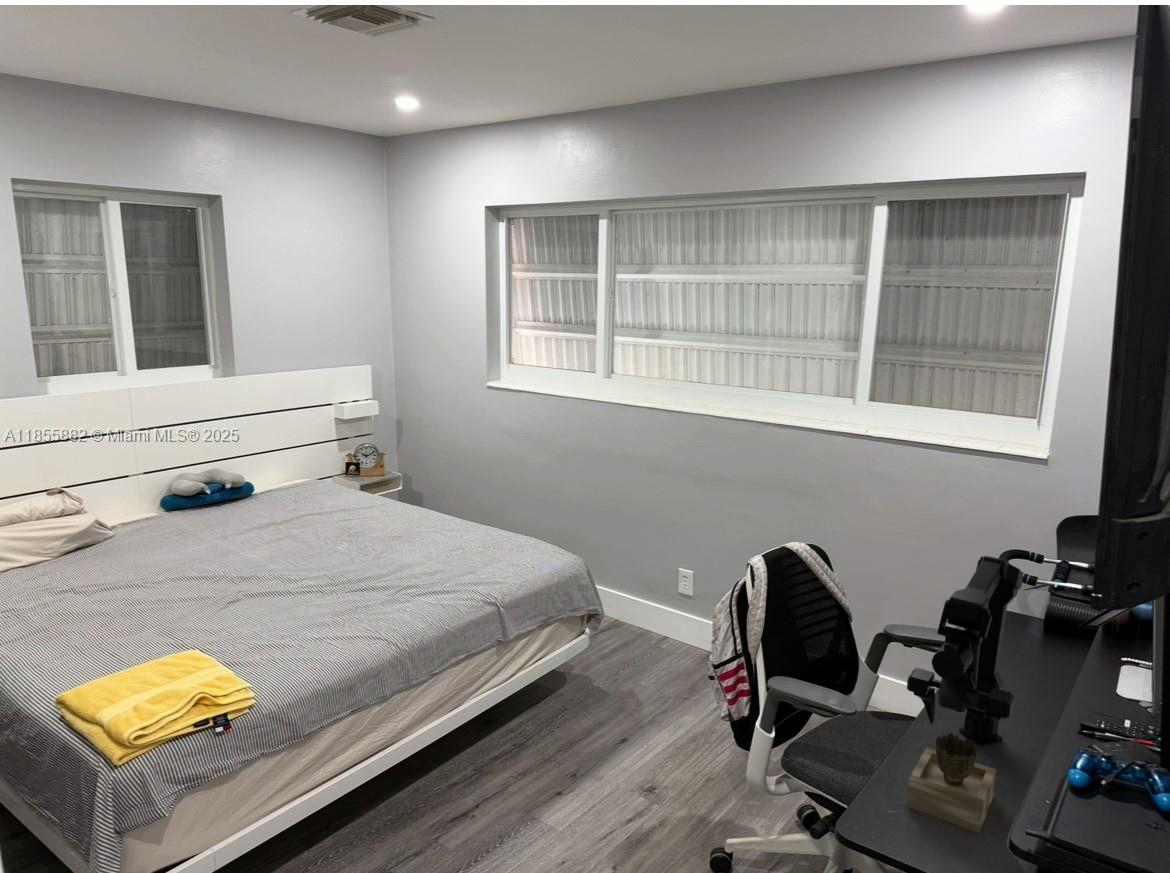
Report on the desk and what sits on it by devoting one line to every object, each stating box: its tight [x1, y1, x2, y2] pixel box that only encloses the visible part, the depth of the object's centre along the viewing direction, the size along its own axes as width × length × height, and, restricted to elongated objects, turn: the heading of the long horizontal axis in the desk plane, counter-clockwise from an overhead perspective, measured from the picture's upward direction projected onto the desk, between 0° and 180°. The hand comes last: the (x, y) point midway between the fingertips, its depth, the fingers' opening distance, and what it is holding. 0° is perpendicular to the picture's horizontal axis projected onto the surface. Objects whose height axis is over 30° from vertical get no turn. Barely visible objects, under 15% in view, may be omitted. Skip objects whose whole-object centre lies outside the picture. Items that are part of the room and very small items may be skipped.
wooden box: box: [906, 746, 997, 834], centre depth 158 cm, size 13×13×6 cm
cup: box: [935, 732, 979, 785], centre depth 157 cm, size 8×7×8 cm
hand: (956, 730), depth 162 cm, fingers open, 9 cm apart
